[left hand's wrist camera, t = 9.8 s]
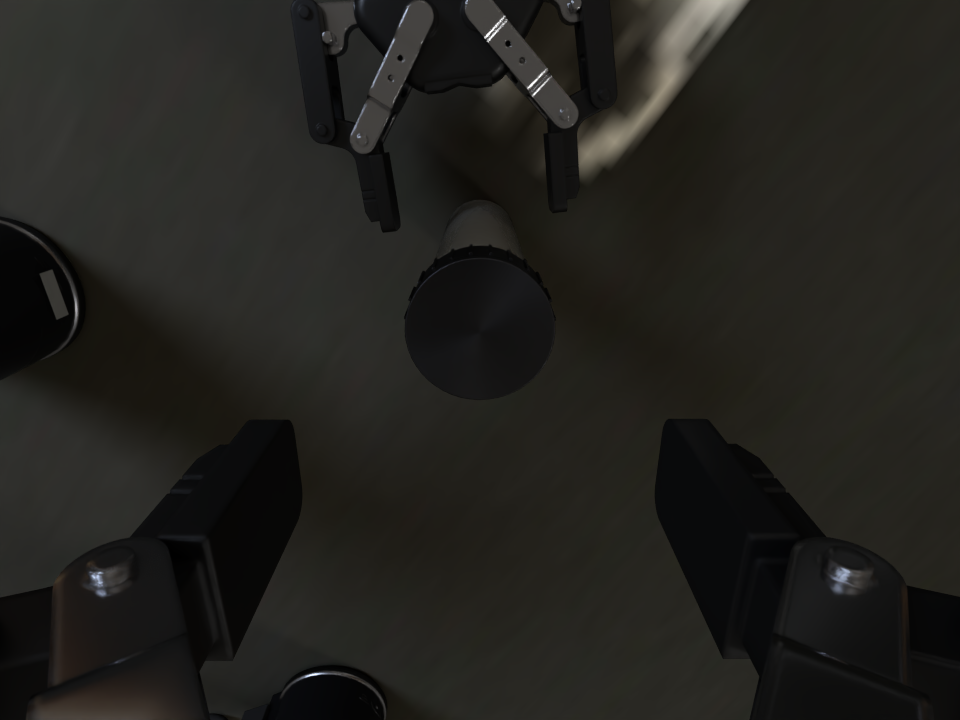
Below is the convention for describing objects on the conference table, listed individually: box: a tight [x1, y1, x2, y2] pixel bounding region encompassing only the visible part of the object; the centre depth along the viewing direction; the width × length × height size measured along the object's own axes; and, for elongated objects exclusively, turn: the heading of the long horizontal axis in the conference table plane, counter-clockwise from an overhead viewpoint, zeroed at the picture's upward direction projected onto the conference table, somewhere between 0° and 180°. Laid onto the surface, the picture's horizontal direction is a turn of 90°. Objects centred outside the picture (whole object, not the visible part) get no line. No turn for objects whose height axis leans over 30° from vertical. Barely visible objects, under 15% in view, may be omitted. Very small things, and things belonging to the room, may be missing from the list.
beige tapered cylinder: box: [435, 200, 525, 260], centre depth 27 cm, size 4×4×18 cm
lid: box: [404, 244, 556, 400], centre depth 20 cm, size 5×5×2 cm
